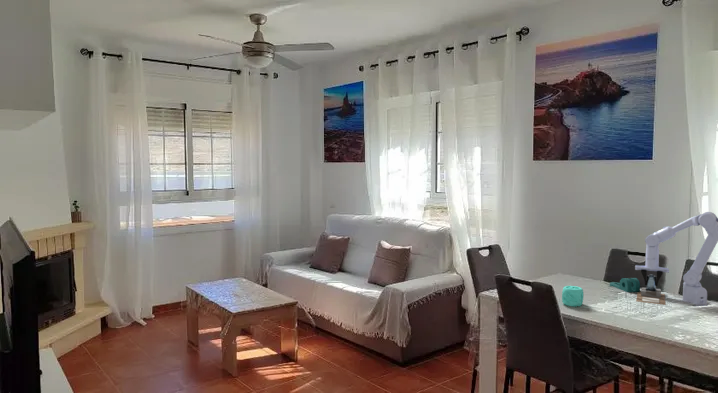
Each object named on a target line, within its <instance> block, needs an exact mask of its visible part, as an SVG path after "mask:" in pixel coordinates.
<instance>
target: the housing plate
mask: <svg viewBox="0 0 718 393" xmlns="http://www.w3.org/2000/svg"><path fill="white" fill-rule="evenodd" d="M646 289H647V287H643V286H642V287H641V288H640V292H636V300H635V301H636V302H637V303H644V304H647V303H648V304H654V305H664V306H666V295H665V293H662V290H661V288H656V292H655V291H646Z"/></svg>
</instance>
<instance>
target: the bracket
mask: <svg viewBox="0 0 718 393" xmlns="http://www.w3.org/2000/svg"><path fill="white" fill-rule="evenodd" d="M609 287H614V288H616V289H618V290H620V291H623V292H625V293H637V292H641V283H640V280H639V279H638V278H637V277H630V278H628V277H627V278H626V277H625V278H623V277H621V279H620V280H619V282H616V281H611V282H609Z"/></svg>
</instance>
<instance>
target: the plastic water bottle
mask: <svg viewBox="0 0 718 393" xmlns="http://www.w3.org/2000/svg"><path fill="white" fill-rule="evenodd" d="M646 278H647V285H646V288H647V289H646V291H655V292H656V289H657V286H656V278H657V275H654V274H651V273H649V275H647V277H646Z"/></svg>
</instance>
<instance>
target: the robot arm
mask: <svg viewBox="0 0 718 393" xmlns="http://www.w3.org/2000/svg"><path fill="white" fill-rule="evenodd" d="M691 226H692V227H693V226H694V227H695V226H697V227H698V226H701V227H702V228H703V229H704V230H705V232H706V234H707V237H706V238H705V240H704V242H703V244H702V245H701V248H700V249H699V252H698V253H697V256H696V257H695V259H694V261H693V263H692V265H691V266H690V268H689V270H687V272H685V273H684V274H683V276H682V279H683V283H682V286H683V287H682V301H683V302H685V303H688V304H693V305H692V307H703V306H704V307H705V306H706V307H707V306H709V304H708V291H707V289H706V288H705V287H703V286H702V283H701V282H700V281H701V280H702V277H703V274H702V273H703V272H704V270H705V269H704V268H705V267H706V265H707V264H708V261H709V260H710V257H711V256H712V254H713V251H714V250H715V248H716V246H717V244H718V216H717V215H716V213H714V212H711V211H706V212H703V213H699V214H698V215H694V216H692V217H689V218H688V219H685V220H684V221H681V222H679V223H678V224H676V225H674V226H663V227H661V228H662V229H659V230H657V231H654V232H652V233H651V234H649V235H647V236H646V238H645V239H644V242H645V244H646V246H645V247H646V248H645V265H638V264H636V265H635V266H634V270H635V271H640V273H641V275H642V278H643V280H644V285H645V286H647V272H648V271H649V272H656V287H658V285H659V281H660V279H661V277H662V275H663V273H670V268H669V267H661V266H659V265H660V262H659V261H660V244H661V243H664V242H666V241H668V240H670V239H672V238H674V237H676V234H677V233H679V232H680V231H683V230H685V229H687V228H690V227H691Z"/></svg>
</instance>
